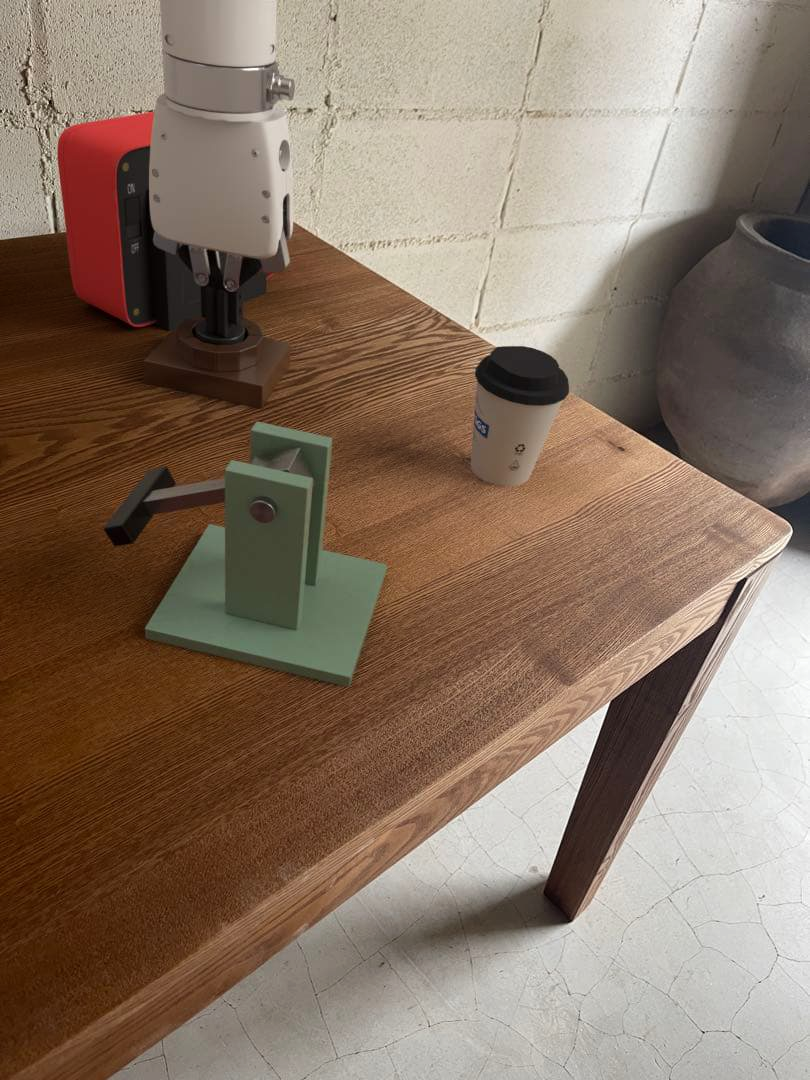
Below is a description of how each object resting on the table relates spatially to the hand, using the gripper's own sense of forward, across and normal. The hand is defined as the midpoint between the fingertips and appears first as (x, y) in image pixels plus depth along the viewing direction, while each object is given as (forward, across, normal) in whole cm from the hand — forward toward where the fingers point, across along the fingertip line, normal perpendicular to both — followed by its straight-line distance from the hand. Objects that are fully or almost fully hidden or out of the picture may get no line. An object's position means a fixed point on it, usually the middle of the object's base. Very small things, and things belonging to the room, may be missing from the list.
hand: (222, 328), depth 71 cm
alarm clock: (+4, +8, -13) cm, 16 cm away
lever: (-3, -10, +26) cm, 28 cm away
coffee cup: (+5, -25, +6) cm, 26 cm away
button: (+2, 0, 0) cm, 2 cm away
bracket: (+4, -13, +26) cm, 29 cm away
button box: (+4, 0, 0) cm, 4 cm away
